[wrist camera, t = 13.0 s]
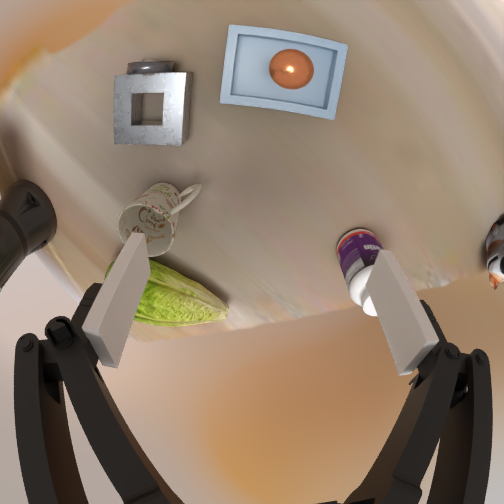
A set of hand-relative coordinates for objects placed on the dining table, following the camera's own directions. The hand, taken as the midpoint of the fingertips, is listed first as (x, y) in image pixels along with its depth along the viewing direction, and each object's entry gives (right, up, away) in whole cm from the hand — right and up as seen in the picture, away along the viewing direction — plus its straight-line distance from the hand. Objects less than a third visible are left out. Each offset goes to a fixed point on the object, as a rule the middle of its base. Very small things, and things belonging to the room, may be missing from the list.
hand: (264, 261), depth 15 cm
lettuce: (-16, -5, +39) cm, 43 cm away
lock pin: (+3, +24, +16) cm, 30 cm away
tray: (+3, +25, +17) cm, 30 cm away
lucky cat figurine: (+57, +3, +32) cm, 65 cm away
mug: (-13, +10, +28) cm, 33 cm away
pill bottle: (+18, +2, +34) cm, 38 cm away
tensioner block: (-14, +21, +20) cm, 32 cm away
